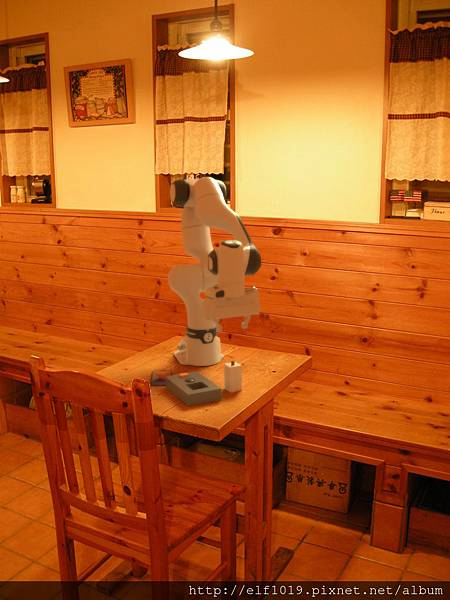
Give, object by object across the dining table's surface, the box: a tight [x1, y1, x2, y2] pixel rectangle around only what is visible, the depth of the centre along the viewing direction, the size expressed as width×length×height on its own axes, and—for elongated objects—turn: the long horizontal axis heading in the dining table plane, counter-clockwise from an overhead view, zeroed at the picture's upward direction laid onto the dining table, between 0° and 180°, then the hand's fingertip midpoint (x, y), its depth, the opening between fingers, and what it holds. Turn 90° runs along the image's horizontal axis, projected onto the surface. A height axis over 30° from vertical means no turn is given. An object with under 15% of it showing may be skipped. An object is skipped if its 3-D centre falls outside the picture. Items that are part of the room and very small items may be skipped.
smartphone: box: [150, 369, 173, 387], centre depth 227 cm, size 7×15×1 cm, turn 4°
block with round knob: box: [223, 360, 243, 393], centre depth 215 cm, size 4×4×10 cm
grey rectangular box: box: [165, 370, 222, 407], centre depth 212 cm, size 20×12×5 cm, turn 27°
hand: (232, 329), depth 211 cm, fingers open, 8 cm apart
